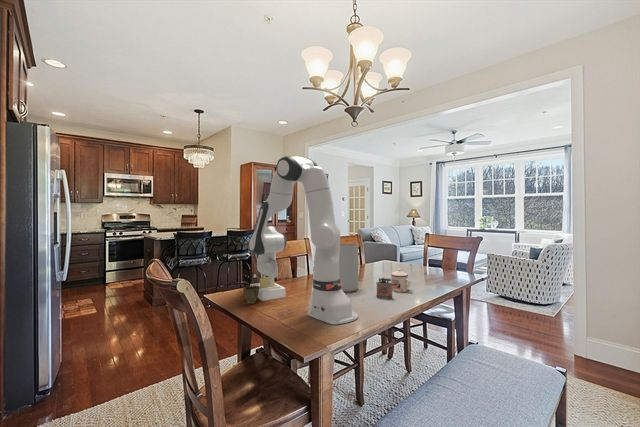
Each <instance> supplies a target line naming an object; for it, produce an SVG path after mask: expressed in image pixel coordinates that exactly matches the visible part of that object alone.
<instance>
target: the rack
mask: <svg viewBox="0 0 640 427" xmlns="http://www.w3.org/2000/svg"><path fill="white" fill-rule="evenodd" d="M251 285H252V287H253V285H256V286H259V295H258V298H257V299H259V300H260V301H261V302H264V301H271V300H276V299H281V298H286V287H284V286H282V285H280V284H278V283H276V282H274V286H273V287H267V288H260V282H256V283H250V285H249V286H251Z"/></svg>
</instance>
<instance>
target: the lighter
mask: <svg viewBox="0 0 640 427" xmlns="http://www.w3.org/2000/svg"><path fill="white" fill-rule="evenodd" d="M375 297H376V298H378V299H384V300H385V299H387V300H392V299H393V290H392V283H391V278H388V277H386V278H385V277H384V276H383V277H378V281H376V296H375Z"/></svg>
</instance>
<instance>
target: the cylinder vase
mask: <svg viewBox="0 0 640 427" xmlns="http://www.w3.org/2000/svg"><path fill="white" fill-rule="evenodd" d="M339 279H340V282H341V283H343V284H341V285H343V286H342V288H341V289H342V290H343V292H344V293H345V292H347V293H350V292H356V291H358V289H359V244H357V243H340V253H339Z"/></svg>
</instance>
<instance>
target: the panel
mask: <svg viewBox="0 0 640 427" xmlns="http://www.w3.org/2000/svg"><path fill="white" fill-rule="evenodd" d="M269 281H270V279H269V276H265V277H264V278H262V277H260V278H259V283H260V288H267V287H273V286H274V283H275V280H274V281H273V285H269Z"/></svg>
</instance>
